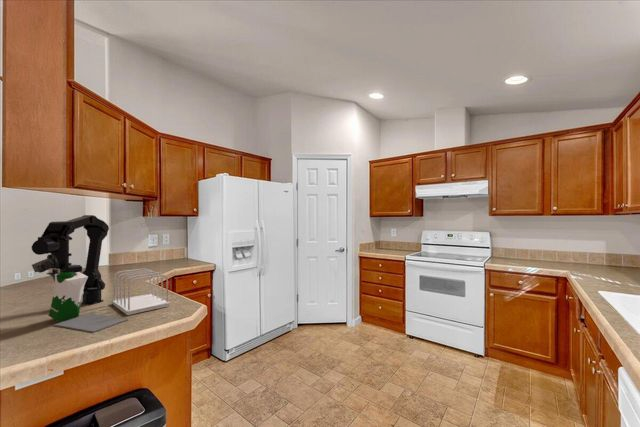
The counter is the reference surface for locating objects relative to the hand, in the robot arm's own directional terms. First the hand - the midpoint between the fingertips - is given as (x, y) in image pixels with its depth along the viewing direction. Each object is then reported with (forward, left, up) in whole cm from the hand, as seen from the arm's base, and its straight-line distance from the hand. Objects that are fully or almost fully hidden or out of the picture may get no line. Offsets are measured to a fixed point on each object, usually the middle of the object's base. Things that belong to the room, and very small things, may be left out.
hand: (59, 288), depth 120 cm
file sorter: (-23, +17, -12) cm, 31 cm away
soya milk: (0, +3, -11) cm, 12 cm away
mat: (0, +19, -12) cm, 23 cm away
